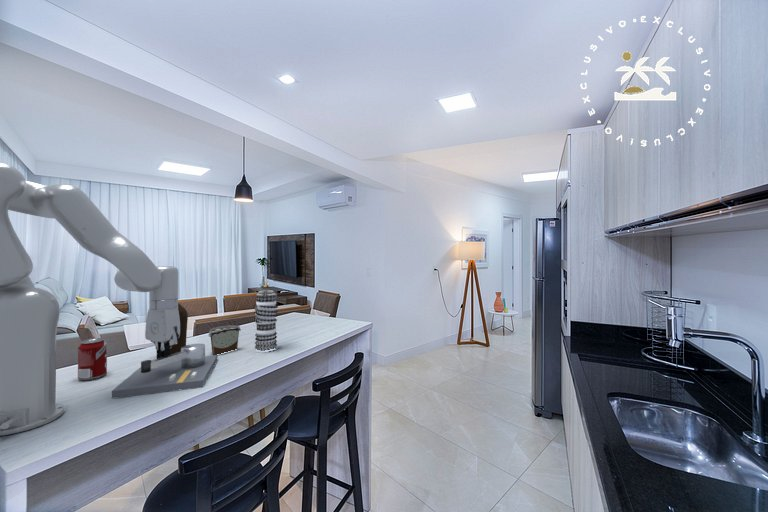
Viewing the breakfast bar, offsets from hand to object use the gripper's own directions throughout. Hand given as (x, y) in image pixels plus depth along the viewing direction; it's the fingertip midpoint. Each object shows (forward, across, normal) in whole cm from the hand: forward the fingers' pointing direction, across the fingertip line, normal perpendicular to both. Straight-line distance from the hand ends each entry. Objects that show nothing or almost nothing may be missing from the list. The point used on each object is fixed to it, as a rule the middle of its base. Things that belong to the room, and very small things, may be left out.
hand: (163, 361), depth 98 cm
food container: (+6, -5, +27) cm, 28 cm away
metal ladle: (+3, +3, +2) cm, 4 cm away
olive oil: (+6, -20, +17) cm, 26 cm away
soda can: (+6, -22, -7) cm, 24 cm away
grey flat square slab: (+5, +1, +2) cm, 6 cm away
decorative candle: (+6, +10, +36) cm, 37 cm away
